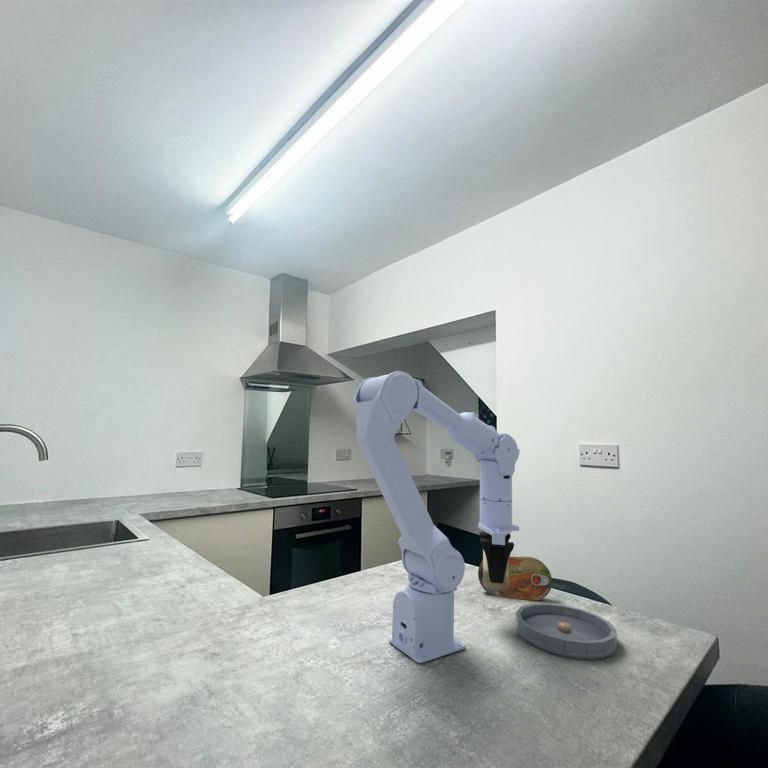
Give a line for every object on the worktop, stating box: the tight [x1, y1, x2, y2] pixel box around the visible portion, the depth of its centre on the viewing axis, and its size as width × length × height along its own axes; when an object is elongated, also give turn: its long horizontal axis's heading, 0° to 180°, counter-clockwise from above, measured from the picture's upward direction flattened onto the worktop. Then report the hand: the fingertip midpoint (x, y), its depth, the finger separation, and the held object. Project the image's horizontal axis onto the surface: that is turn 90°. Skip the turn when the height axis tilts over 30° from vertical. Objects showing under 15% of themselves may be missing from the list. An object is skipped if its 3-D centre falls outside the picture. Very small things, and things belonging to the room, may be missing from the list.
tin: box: [477, 554, 553, 602], centre depth 90 cm, size 15×3×8 cm, turn 75°
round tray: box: [515, 602, 618, 661], centre depth 71 cm, size 16×16×2 cm
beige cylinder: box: [482, 549, 509, 591], centre depth 75 cm, size 4×4×6 cm
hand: (495, 578), depth 75 cm, fingers closed on beige cylinder, 4 cm apart
